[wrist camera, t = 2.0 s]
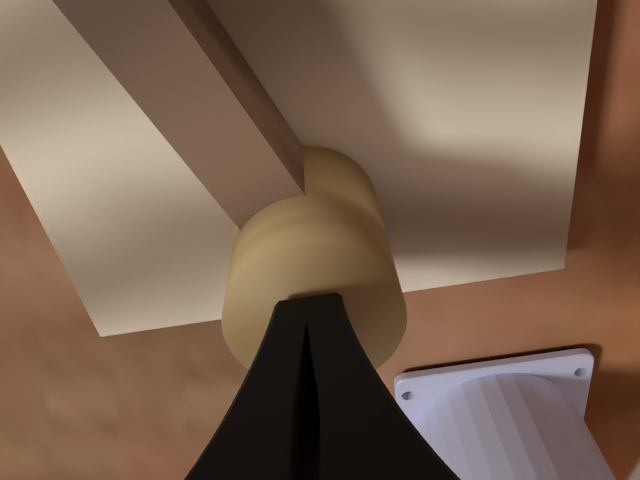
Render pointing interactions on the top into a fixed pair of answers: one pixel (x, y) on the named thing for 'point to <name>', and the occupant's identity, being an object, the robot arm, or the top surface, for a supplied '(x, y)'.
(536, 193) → the board
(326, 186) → the friction peg
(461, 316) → the top surface
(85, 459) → the top surface
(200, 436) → the top surface
